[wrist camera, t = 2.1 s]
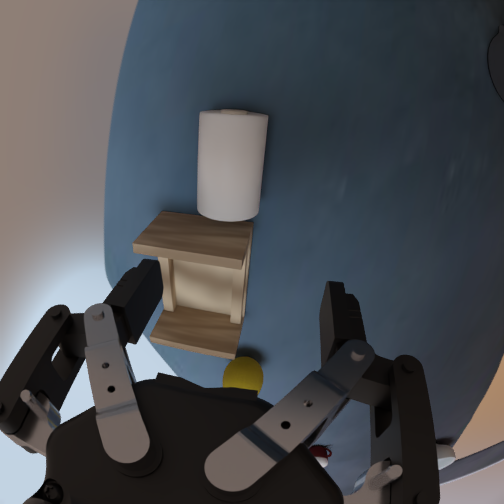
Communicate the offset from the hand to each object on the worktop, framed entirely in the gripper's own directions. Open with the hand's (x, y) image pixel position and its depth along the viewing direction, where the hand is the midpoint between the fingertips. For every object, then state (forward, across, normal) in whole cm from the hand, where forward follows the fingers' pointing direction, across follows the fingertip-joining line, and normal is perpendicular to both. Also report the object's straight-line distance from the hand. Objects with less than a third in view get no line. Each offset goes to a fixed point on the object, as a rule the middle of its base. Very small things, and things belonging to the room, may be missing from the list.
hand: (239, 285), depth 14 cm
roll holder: (+16, +6, +11) cm, 21 cm away
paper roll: (+14, +3, -2) cm, 14 cm away
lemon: (+17, +1, +26) cm, 31 cm away
